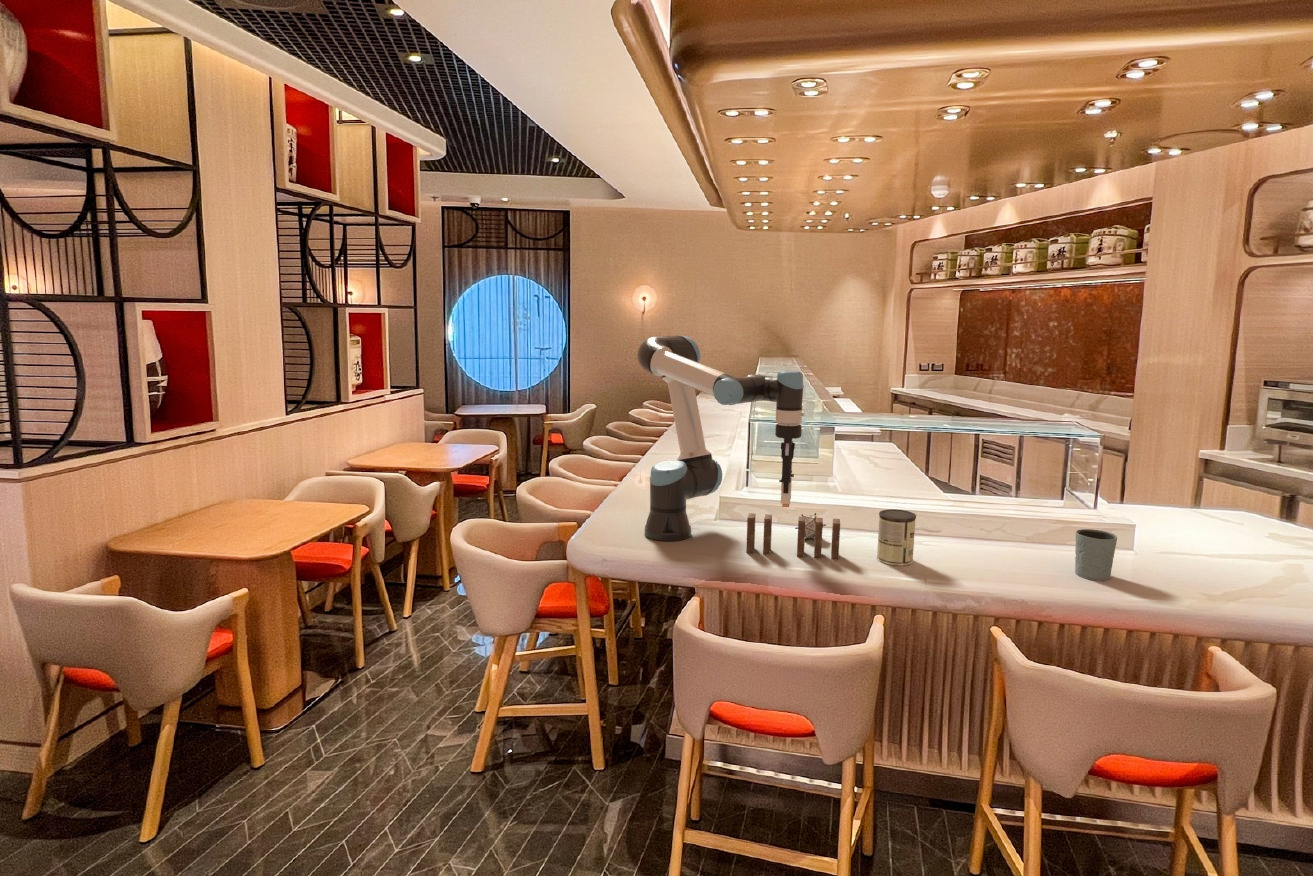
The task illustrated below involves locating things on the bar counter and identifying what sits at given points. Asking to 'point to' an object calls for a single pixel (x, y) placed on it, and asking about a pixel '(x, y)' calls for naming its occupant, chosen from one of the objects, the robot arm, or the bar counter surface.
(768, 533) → the domino
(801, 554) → the domino
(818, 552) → the domino
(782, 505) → the domino
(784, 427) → the robot arm
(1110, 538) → the grey green cup
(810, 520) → the game die
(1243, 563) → the bar counter surface
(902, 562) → the coffee can
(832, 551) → the domino
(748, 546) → the domino
